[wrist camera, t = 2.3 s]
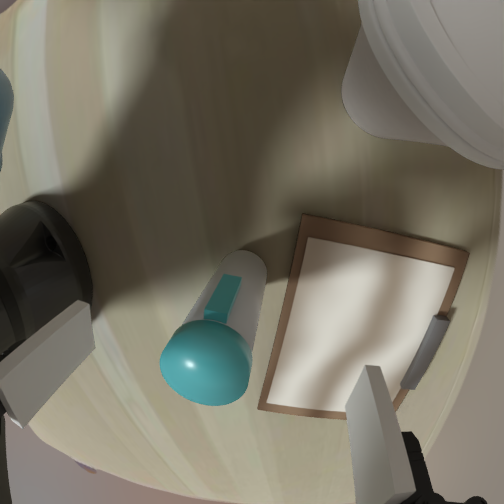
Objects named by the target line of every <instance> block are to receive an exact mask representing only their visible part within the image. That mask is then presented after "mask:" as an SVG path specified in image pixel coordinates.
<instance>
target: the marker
mask: <svg viewBox="0 0 504 504" xmlns="http://www.w3.org/2000/svg"><path fill="white" fill-rule="evenodd" d="M266 279H267V269H266V266H265V264H264V262H263V261H262V259H261V258H260V257H259V256H257V255H256V254H254V253H252V252H250V251H245V250H238V251H234V252H231V253H230V254H228V255H227V256H226V257H225V258H224V259H223V260H222V262H221V263H220V265H219V266H218V268H217V270H216V271H215V273H214V274H213V276H212V278H211V279H210V281H209V282H208V284H207V285H206V287H205V289H204V290H203V292H202V293H201V295H200V297H199V298H198V300H197V301H196V303H195V305H194V306H193V308H192V309H191V311H190V313H189V314H188V316H187V317H186V319H185V321H184V322H183V324H182V326H180V327H179V328H178V329H177V330H176V331H175V333H174V334H173V336H172V337H171V339H170V341H169V342H168V344H167V345H166V347H165V349H164V350H163V352H162V354H161V357H160V369H161V373H162V375H163V377H164V379H165V380H166V382H167V383H168V385H169V386H170V387H171V388H172V389H173V390H174V391H176V392H177V393H178V394H180V395H181V396H183V397H184V398H186V399H188V400H190V401H193V402H196V403H199V404H203V405H210V406H219V405H226V404H229V403H232V402H234V401H236V400H238V399H239V398H240V397H241V396H242V395H243V394H244V393H245V391H246V389H247V386H248V382H249V377H250V372H251V367H252V350H253V346H254V341H255V336H256V331H257V326H258V321H259V316H260V310H261V305H262V300H263V295H264V290H265V285H266Z"/></svg>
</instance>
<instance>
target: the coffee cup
mask: <svg viewBox="0 0 504 504" xmlns="http://www.w3.org/2000/svg"><path fill="white" fill-rule="evenodd" d="M358 6H359V12H360V17H361V21H362V23H361V26H360V29H359V32H358V36H357V39H356V42H355V45H354V48H353V51H352V54H351V57H350V60H349V63H348V66H347V69H346V72H345V75H344V78H343V81H342V87H341V94H342V100H343V104H344V107H345V109H346V111H347V113H348V115H349V116H350V118H351V119H352V120H353V121H354V123H355V124H356V125H357V126H359V127H360V128H361V129H362V130H364V131H365V132H367V133H369V134H371V135H373V136H376V137H379V138H384V139H394V140H404V141H413V142H421V143H429V144H436V145H442V146H448V147H450V148H452V149H453V150H454V151H456V152H457V153H459V154H460V155H462V156H464V157H465V158H467V159H469V160H471V161H473V162H475V163H478V164H480V165H483V166H486V167H489V168H494V169H504V0H358Z"/></svg>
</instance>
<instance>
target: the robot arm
mask: <svg viewBox="0 0 504 504" xmlns="http://www.w3.org/2000/svg"><path fill="white" fill-rule="evenodd" d="M13 103H14V95H13V90H12V86H11V83H10V81H9V79H8V77H7V76H6V74H5V73H4V72H3V71H2V70H1V69H0V171H1V168H2V149H3V145H4V140H5V136H6V133H7V129H8V125H9V122H10V118H11V115H12V111H13ZM91 303H92V283H91V276H90V271H89V267H88V264H87V260H86V257H85V255H84V252H83V250H82V247H81V245H80V243H79V241H78V239H77V237H76V235H75V234H74V232H73V230H72V229H71V227H70V226H69V225H68V223H67V222H66V221H65V220H64V218H63V217H62V216H61V215H60V214H59V213H58V212H57V211H55V210H54V209H53V208H51V207H50V206H48V205H46V204H44V203H41V202H37V201H29V202H25V203H22V204H18V205H15V206H12V207H10V208H9V209H7V210H6V211H4V212H3V213H2V214H1V215H0V504H12V500H11V494H10V487H9V479H8V470H7V459H6V442H5V418H4V416H3V415H4V413H5V412H7V413H8V415H9V417H10V419H11V420H12V421H13V422H14V423H16V424H17V425H18V426H20V427H21V428H22V429H23V428H24V427H25V426H26V425H27V424H28V422H29V421H30V420H31V419H32V418H33V417H34V415H35V414H36V413H37V412H38V411H39V410H40V408H41V407H42V406H43V405H44V404H45V403H46V402H47V400H48V399H49V398H50V397H51V396H52V395H53V394H54V393H55V391H56V390H57V389H58V388H59V387H60V386H61V385H62V384H63V383H64V381H65V380H66V379H67V378H68V377H69V376H70V375H71V374H72V373H73V372H74V370H75V369H76V368H77V367H78V366H79V365H80V364H81V363H82V362H83V361H84V360H85V359H86V358H87V356H88V355H89V354H90V353H91V352H92V351H93V350H94V349H95V342H94V336H93V329H92V322H91V314H90V308H91ZM345 410H346V417H347V424H348V432H349V440H350V448H351V456H352V465H353V475H354V485H355V497H356V504H487V502H486V501H485V500H484V499H483V498H481V497H479V496H474V497H471V498H469V499H468V500H467V501H466V502H464V503H456V502H447V501H445V500H444V498H443V497H442V496H441V495H439V494H437V493H434V491H433V489H432V485H431V482H430V478H429V475H428V470H427V467H426V464H425V461H424V457H423V453H421V451H422V450H421V447H420V444H419V441H418V439H417V438H416V437H415V435H414V434H413V433H412V432H401V430H400V427H399V423H398V420H397V416H396V413H395V410H394V407H393V404H392V400H391V397H390V394H389V391H388V388H387V385H386V382H385V379H384V376H383V373H382V370H381V367H380V366H374V365H365V366H364V368H363V370H362V372H361V374H360V376H359V379H358V381H357V383H356V385H355V387H354V389H353V391H352V393H351V395H350V397H349V399H348V401H347V403H346V405H345Z"/></svg>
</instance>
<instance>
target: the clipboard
mask: <svg viewBox="0 0 504 504" xmlns="http://www.w3.org/2000/svg"><path fill="white" fill-rule="evenodd" d="M469 254H470V253H468V252H467V251H464V250H460V249H457V248H453V247H449V246H445V245H441V244H437V243H433V242H430V241H426V240H421V239H417V238H413V237H409V236H405V235H401V234H397V233H392V232H388V231H384V230H379V229H375V228H370V227H366V226H361V225H357V224H352V223H347V222H343V221H338V220H333V219H328V218H323V217H318V216H313V215H308V214H303V213H302V218H301V223H300V228H299V233H298V238H297V242H296V247H295V252H294V257H293V262H292V266H291V271H290V275H289V280H288V285H287V289H286V294H285V298H284V302H283V307H282V311H281V315H280V320H279V324H278V328H277V332H276V337H275V341H274V345H273V349H272V353H271V357H270V361H269V365H268V369H267V373H266V377H265V381H264V384H263V388H262V392H261V396H260V400H259V403H258V408H257V409H258V410H263V411H270V412H276V413H283V414H290V415H298V416H307V417H317V418H328V419H342V420H347V417H346V410H345V405H346V403H347V401H348V399H349V397H350V395H351V393H352V391H353V389H354V387H355V385H356V383H357V381H358V379H359V376H360V374H361V372H362V370H363V368H364V366H365V365H374V366H380V367H381V370H382V373H383V376H384V379H385V382H386V385H387V388H388V391H389V394H390V397H391V400H392V404H393V407H394V410H395V411H396V410H397V408H398V407H399V405H400V404H401V402H402V400H403V399H404V397H405V396H406V394H407V392H408V391H409V389H411V390H415V388H416V387H417V385H418V383H419V382H420V380H421V378H422V376H423V375H424V373H425V371H426V369H427V367H428V366H429V364H430V362H431V360H432V358H433V356H434V354H435V352H436V350H437V348H438V346H439V344H440V342H441V340H442V338H443V336H444V334H445V332H446V330H447V328H448V325H449V323H450V320H449V319H448V318H447V317H446V316H447V314H448V311H449V309H450V307H451V304H452V302H453V299H454V297H455V294H456V292H457V289H458V286H459V283H460V281H461V278H462V275H463V272H464V269H465V266H466V263H467V260H468V257H469Z"/></svg>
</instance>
